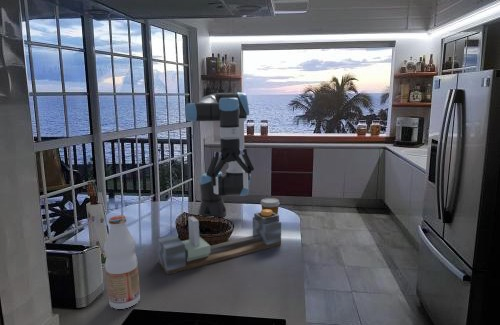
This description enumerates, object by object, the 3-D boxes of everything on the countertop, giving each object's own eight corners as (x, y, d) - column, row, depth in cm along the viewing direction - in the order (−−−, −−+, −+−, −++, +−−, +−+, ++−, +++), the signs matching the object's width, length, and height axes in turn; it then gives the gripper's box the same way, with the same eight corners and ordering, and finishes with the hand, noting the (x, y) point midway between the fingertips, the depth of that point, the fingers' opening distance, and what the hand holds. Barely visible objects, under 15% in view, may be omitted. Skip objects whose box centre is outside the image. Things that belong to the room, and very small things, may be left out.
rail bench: (158, 261, 142) (156, 231, 139) (266, 235, 166) (266, 209, 164) (167, 274, 132) (165, 242, 129) (281, 244, 156) (281, 216, 154)
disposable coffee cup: (279, 220, 185) (279, 197, 183) (279, 227, 176) (279, 203, 174) (261, 219, 186) (261, 197, 184) (260, 226, 177) (259, 203, 175)
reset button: (258, 215, 158) (258, 210, 158) (268, 213, 160) (268, 208, 160) (264, 218, 154) (264, 213, 153) (274, 216, 156) (274, 211, 156)
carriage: (179, 253, 145) (177, 217, 142) (200, 248, 149) (199, 213, 146) (188, 263, 136) (186, 225, 133) (210, 257, 141) (209, 220, 138)
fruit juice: (112, 314, 108) (103, 225, 103) (106, 299, 116) (98, 216, 111) (144, 304, 113) (137, 219, 108) (136, 290, 121) (129, 211, 116)
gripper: (204, 141, 131) (207, 198, 135) (261, 136, 144) (262, 188, 148) (196, 139, 137) (198, 193, 141) (251, 134, 150) (252, 184, 154)
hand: (231, 190), depth 145 cm, fingers open, 13 cm apart
